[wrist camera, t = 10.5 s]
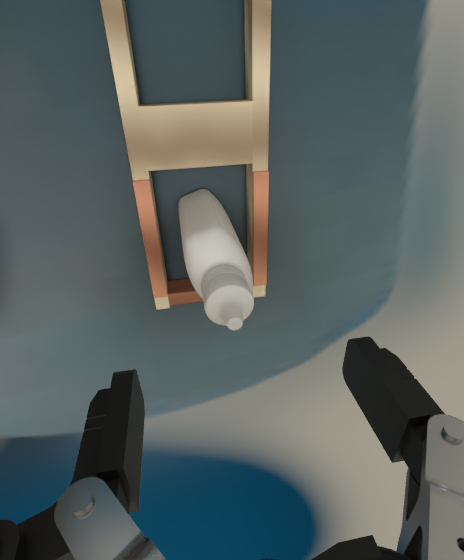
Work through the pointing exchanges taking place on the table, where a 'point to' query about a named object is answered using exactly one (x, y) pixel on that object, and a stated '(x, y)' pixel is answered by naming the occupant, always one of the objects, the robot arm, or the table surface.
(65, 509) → the robot arm
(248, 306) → the eye dropper bottle
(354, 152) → the table surface
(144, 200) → the rail
